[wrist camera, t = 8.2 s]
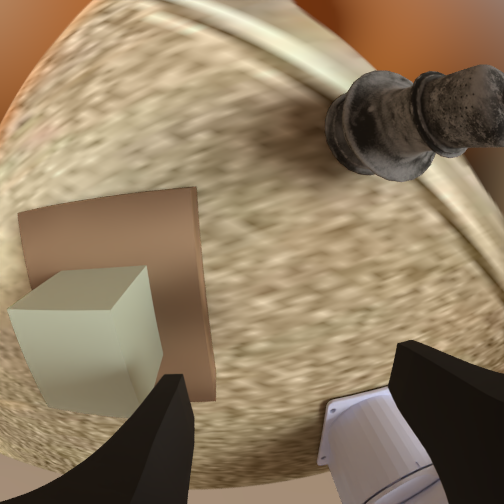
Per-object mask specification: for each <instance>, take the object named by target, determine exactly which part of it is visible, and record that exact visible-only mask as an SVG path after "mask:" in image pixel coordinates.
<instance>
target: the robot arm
mask: <svg viewBox="0 0 504 504" xmlns="http://www.w3.org/2000/svg"><path fill="white" fill-rule="evenodd" d="M193 450H194V414H193V411H192V407H191V403H190V399H189V396H188V392H187V388H186V384H185V380H184V376H183V374H164V375H163V376H162V377H161V379H160V380H159V381H158V383H157V384H156V385H155V386H154V388H153V389H152V390H151V392H150V393H149V394H148V396H147V397H146V398H145V399H144V401H143V402H142V403H141V404H140V406H139V407H138V408H137V409H136V410H135V412H134V413H133V414H132V415H131V416H130V418H129V419H128V420H127V421H126V422H125V423H124V424H123V425H122V426H121V427H120V428H119V430H118V431H117V432H116V433H115V434H114V435H113V436H112V437H111V438H110V439H109V440H108V441H107V442H106V443H105V444H104V445H102V446H101V447H100V448H99V449H98V450H97V451H96V452H94V453H93V454H92V455H91V456H90V457H88V458H87V459H86V460H84V461H83V462H82V463H80V464H79V465H77V466H76V467H74V468H73V469H71V470H70V471H68V472H67V473H65V474H64V475H62V476H61V477H59V478H57V479H55V480H53V481H52V482H50V483H48V484H46V485H44V486H42V487H40V488H38V489H36V490H33V491H31V492H29V493H26V494H24V495H21V496H18V497H15V498H12V499H9V500H5V501H2V502H0V504H187V499H188V490H189V482H190V474H191V466H192V458H193ZM317 464H318V465H319V466H321V465H326V464H328V466H329V469H330V472H331V474H332V477H333V480H334V483H335V485H336V488H337V491H338V493H339V496H340V499H341V502H342V504H504V374H502V373H498V372H495V371H491V370H488V369H485V368H482V367H479V366H476V365H473V364H471V363H468V362H466V361H463V360H461V359H458V358H456V357H453V356H451V355H449V354H446V353H444V352H441V351H439V350H437V349H434V348H432V347H430V346H427V345H425V344H422V343H420V342H417V341H414V340H408V341H405V342H401V343H397V348H396V353H395V358H394V363H393V367H392V372H391V376H390V380H389V384H388V386H387V387H383V388H379V389H376V390H372V391H368V392H364V393H360V394H356V395H352V396H347V397H343V398H338V399H333V400H330V401H329V402H328V403H327V405H326V412H325V418H324V424H323V430H322V436H321V442H320V447H319V453H318V458H317Z"/></svg>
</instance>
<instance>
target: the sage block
mask: <svg viewBox="0 0 504 504" xmlns="http://www.w3.org/2000/svg"><path fill="white" fill-rule="evenodd" d="M7 311H8V314H9V317H10V320H11V323H12V326H13V329H14V332H15V335H16V337H17V340H18V343H19V345H20V348H21V350H22V353H23V355H24V358H25V360H26V362H27V365H28V367H29V369H30V371H31V374H32V376H33V378H34V380H35V382H36V384H37V386H38V388H39V390H40V392H41V394H42V396H43V398H44V400H45V402H46V404H47V405H48V407H50V408H55V409H60V410H66V411H72V412H78V413H84V414H92V415H99V416H108V417H118V418H130V416H131V415H132V414H133V413H134V412H135V410H136V409H137V408H138V407H139V406H140V404H141V403H142V402H143V401H144V399H145V398H146V397H147V396H148V394H149V393H150V392H151V390H152V389H153V388H154V385H155V381H156V378H157V374H158V371H159V367H160V364H161V361H162V357H163V350H162V346H161V341H160V337H159V332H158V327H157V322H156V317H155V312H154V307H153V301H152V296H151V290H150V284H149V278H148V271H147V265H143V266H128V267H112V268H97V269H81V270H65V271H60V272H59V273H57V274H56V275H54V276H53V277H51V278H50V279H48V280H47V281H45V282H44V283H42V284H41V285H39V286H38V287H37V288H35V289H34V290H32V291H31V292H29V293H28V294H27V295H25V296H24V297H23V298H21V299H20V300H18V301H17V302H16V303H14V304H13V305H12V306H10V307H9V308H8V309H7Z"/></svg>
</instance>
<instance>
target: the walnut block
mask: <svg viewBox="0 0 504 504" xmlns="http://www.w3.org/2000/svg"><path fill="white" fill-rule="evenodd" d="M18 221H19V228H20V235H21V241H22V246H23V252H24V257H25V262H26V267H27V271H28V276H29V280H30V284H31V288H32V290H34V289H35V288H37V287H38V286H39V285H41V284H42V283H44V282H45V281H47V280H48V279H50V278H51V277H53V276H54V275H56V274H57V273H59V272H60V271H65V270H81V269H97V268H112V267H128V266H143V265H147V271H148V278H149V284H150V290H151V296H152V301H153V307H154V312H155V317H156V322H157V327H158V332H159V337H160V341H161V346H162V350H163V357H162V361H161V364H160V367H159V371H158V374H157V378H156V381H155V385H156V384H157V383H158V381H159V380H160V379H161V377H162V376H163V375H164V374H183V376H184V380H185V384H186V388H187V392H188V396H189V399H190V402H207V401H216V368H215V361H214V354H213V347H212V339H211V332H210V324H209V316H208V307H207V299H206V290H205V281H204V271H203V261H202V250H201V239H200V228H199V215H198V202H197V188H196V187H185V188H175V189H165V190H155V191H146V192H138V193H130V194H122V195H114V196H107V197H100V198H93V199H87V200H80V201H74V202H68V203H62V204H57V205H51V206H46V207H41V208H37V209H33V210H29V211H24V212H20V213H18ZM155 385H154V386H155Z"/></svg>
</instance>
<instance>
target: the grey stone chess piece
mask: <svg viewBox="0 0 504 504" xmlns="http://www.w3.org/2000/svg"><path fill="white" fill-rule="evenodd" d="M325 134H326V138H327V142H328V145H329V147H330V149H331V151H332V153H333V155H334V156H335V157H336V158H337V159H338V161H339V162H340V163H341V164H342V165H344V166H345V167H346V168H348V169H349V170H351V171H354V172H356V173H358V174H365V175H373V174H375V175H378V176H380V177H382V178H384V179H386V180H390V181H397V182H404V181H409V180H413V179H415V178H417V177H418V176H420V175H422V174H423V173H424V172H425V171H426V170H427V169H428V167H429V166H430V165H431V163H432V161H433V159H434V157H435V154H436V153H437V154H438V155H440V156H443V157H447V158H453V157H458V156H460V155H461V154H463V153H464V152H465V151H466V149H467V148H468V147H469V148H472V147H504V73H503V72H501V71H500V70H498V69H496V68H495V67H493V66H490V65H477V66H474V67H470V68H467V69H464V70H461V71H458V72H455V73H452V74H449V75H444V74H442V73H439V72H432V71H429V72H426V73H423V74H421V75H420V76H419V77H418V78H416V79H415V81H414V83H412V82H411V81H409V80H408V79H406V78H405V77H403V76H401V75H400V74H397V73H393V72H390V71H372V72H369V73H366V74H364V75H362V76H361V77H360V78H358V79H357V80H356V81H355V82H353V84H352V86H351V87H350V89H349V90H348V92H347V93H346V94H343V95H341V96H340V97H339V98H337V99H336V100H335V101H334V102H333V103H332V105H331V106H330V108H329V110H328V112H327V116H326V119H325Z"/></svg>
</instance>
